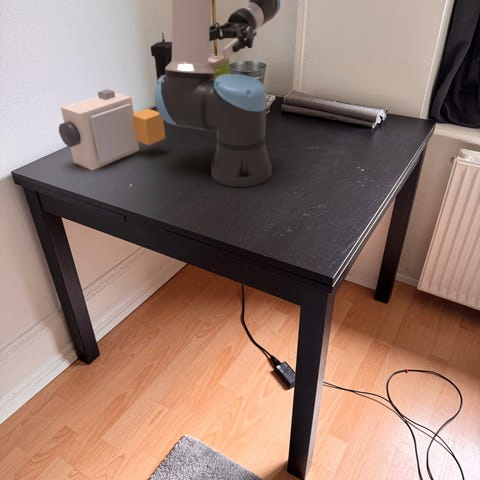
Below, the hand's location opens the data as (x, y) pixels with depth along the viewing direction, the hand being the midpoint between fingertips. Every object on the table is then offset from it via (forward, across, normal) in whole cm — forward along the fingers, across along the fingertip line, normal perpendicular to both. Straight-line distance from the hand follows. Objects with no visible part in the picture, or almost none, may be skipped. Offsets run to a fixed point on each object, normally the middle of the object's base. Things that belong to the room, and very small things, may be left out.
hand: (203, 52), depth 119 cm
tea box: (-25, +25, -30) cm, 46 cm away
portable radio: (-4, +23, -25) cm, 34 cm away
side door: (+26, +10, -17) cm, 32 cm away
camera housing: (+29, +18, -18) cm, 39 cm away
